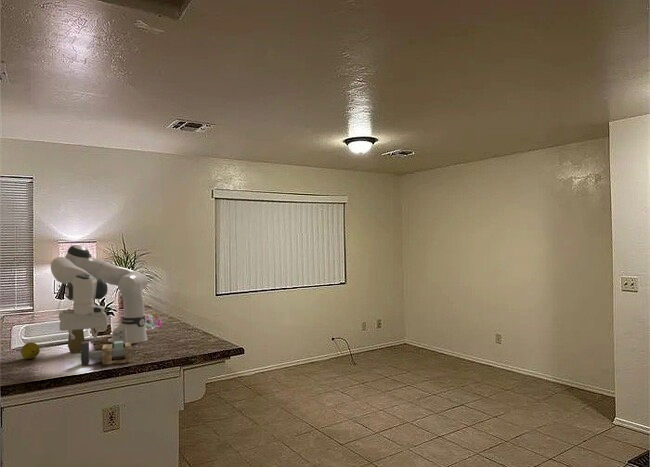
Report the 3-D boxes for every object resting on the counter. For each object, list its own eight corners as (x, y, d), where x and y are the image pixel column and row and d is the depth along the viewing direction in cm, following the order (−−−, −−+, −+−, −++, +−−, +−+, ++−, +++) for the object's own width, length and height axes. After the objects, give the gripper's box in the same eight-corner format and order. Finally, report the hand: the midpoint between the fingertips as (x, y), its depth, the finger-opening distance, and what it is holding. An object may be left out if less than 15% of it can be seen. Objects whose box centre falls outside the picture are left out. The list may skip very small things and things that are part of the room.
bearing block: (102, 364, 220) (102, 348, 220) (103, 360, 229) (103, 344, 229) (131, 361, 225) (130, 346, 225) (131, 357, 233) (130, 342, 233)
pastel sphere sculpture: (125, 326, 318) (125, 312, 318) (162, 323, 325) (162, 310, 325) (122, 333, 294) (121, 318, 294) (161, 330, 302) (161, 315, 302)
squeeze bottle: (87, 349, 250) (87, 316, 250) (80, 353, 242) (80, 318, 242) (72, 350, 250) (72, 316, 250) (64, 354, 242) (64, 319, 242)
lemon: (21, 357, 235) (20, 341, 235) (39, 355, 240) (39, 339, 240) (21, 362, 226) (20, 346, 226) (39, 360, 231) (39, 343, 231)
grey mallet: (81, 365, 219) (81, 343, 219) (82, 362, 223) (82, 341, 223) (133, 359, 227) (133, 339, 227) (133, 357, 232) (133, 337, 232)
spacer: (114, 351, 224) (113, 343, 224) (114, 348, 229) (114, 341, 229) (123, 350, 226) (123, 342, 226) (123, 347, 230) (123, 340, 230)
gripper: (57, 311, 215) (58, 341, 215) (107, 308, 222) (107, 337, 222) (59, 309, 221) (60, 339, 220) (107, 306, 228) (107, 335, 228)
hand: (84, 338), depth 221 cm, fingers open, 8 cm apart
